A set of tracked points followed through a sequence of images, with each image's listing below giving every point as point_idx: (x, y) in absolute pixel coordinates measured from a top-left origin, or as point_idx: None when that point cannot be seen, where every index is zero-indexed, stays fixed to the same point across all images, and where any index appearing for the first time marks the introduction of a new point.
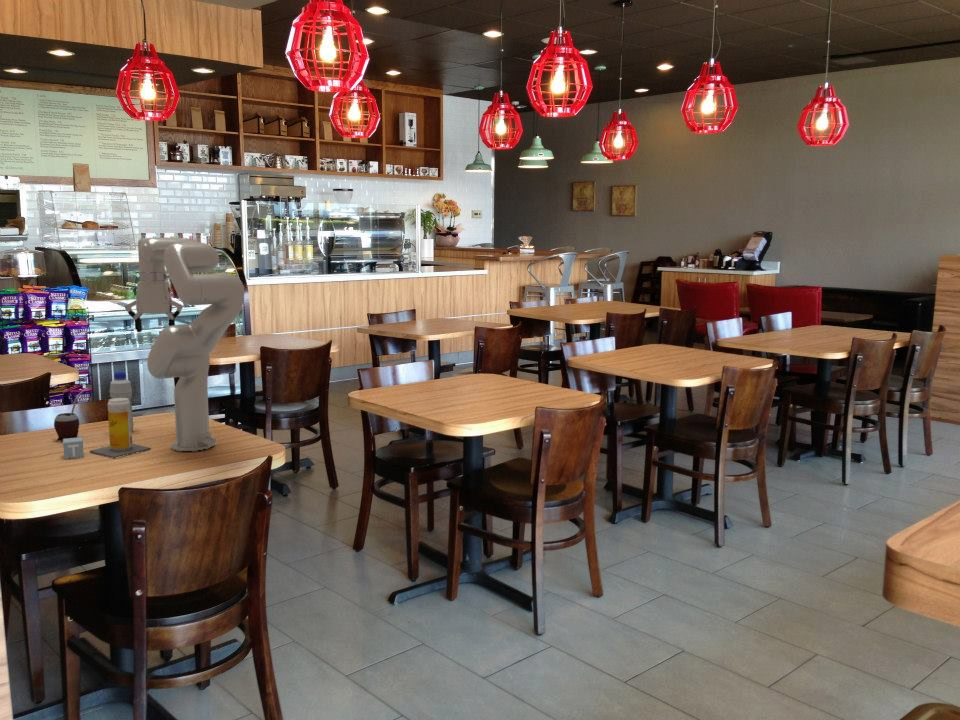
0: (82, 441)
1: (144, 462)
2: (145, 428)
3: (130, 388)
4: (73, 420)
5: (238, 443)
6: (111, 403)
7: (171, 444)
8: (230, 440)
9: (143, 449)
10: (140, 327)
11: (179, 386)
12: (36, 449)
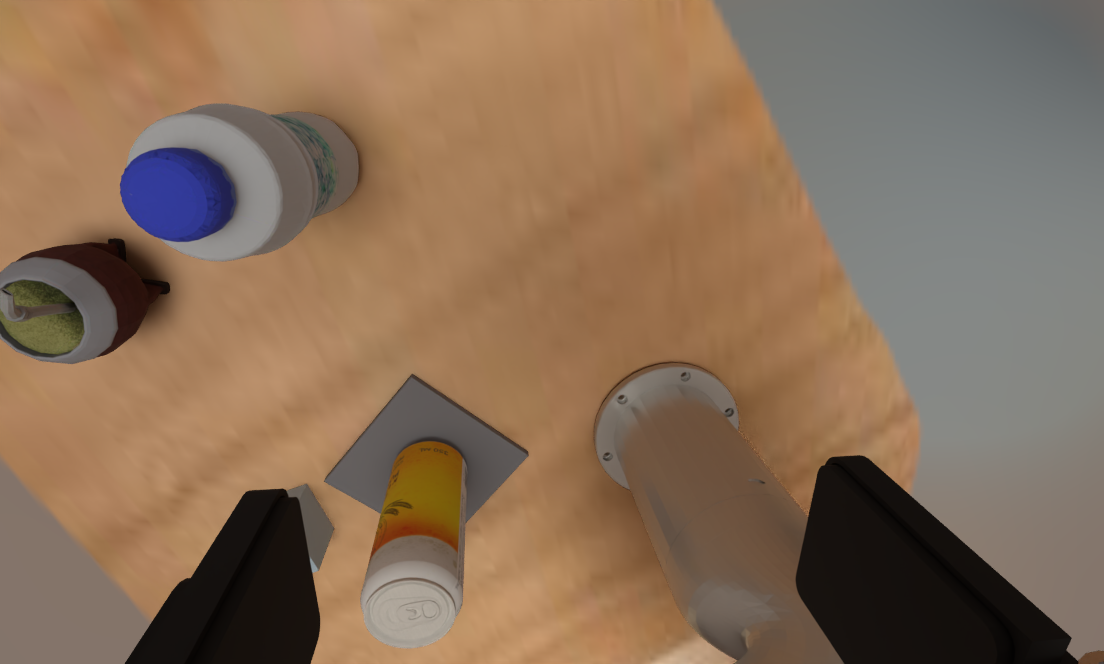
0: (318, 569)
1: (545, 578)
2: (397, 90)
3: (303, 199)
4: (113, 339)
5: (808, 391)
6: (391, 638)
7: (596, 445)
8: (783, 348)
9: (509, 475)
10: (286, 629)
11: (717, 648)
12: (89, 427)
